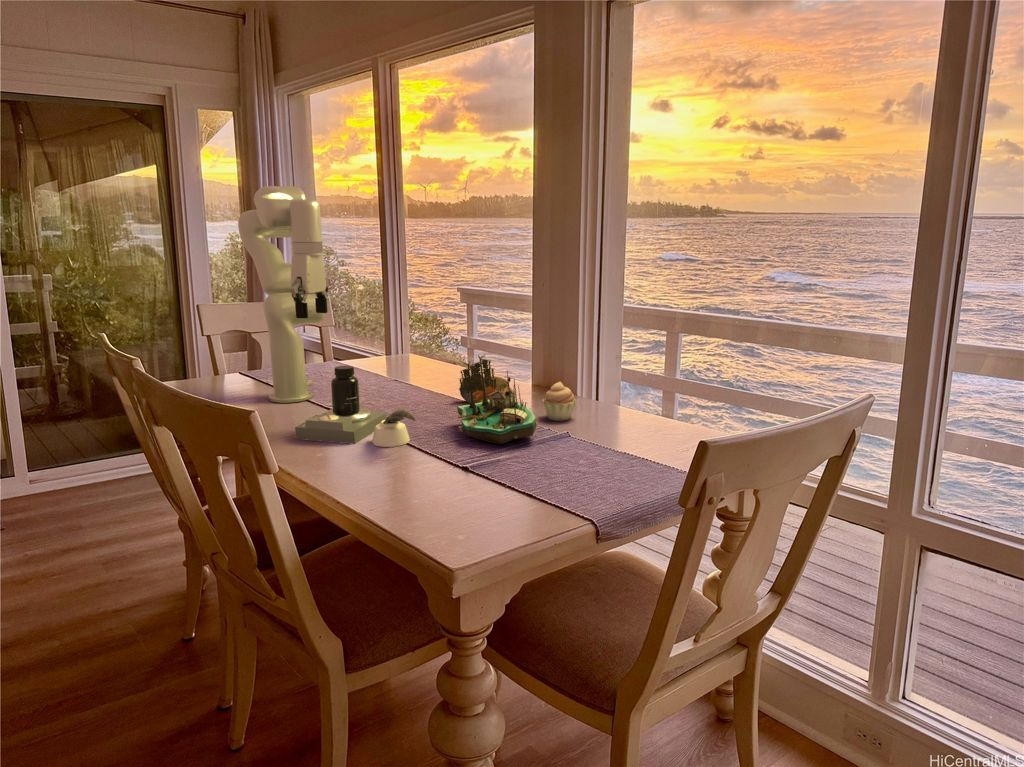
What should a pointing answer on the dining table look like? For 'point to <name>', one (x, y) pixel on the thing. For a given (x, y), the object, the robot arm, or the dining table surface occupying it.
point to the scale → (338, 428)
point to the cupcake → (559, 402)
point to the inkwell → (392, 430)
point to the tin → (479, 394)
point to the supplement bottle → (345, 392)
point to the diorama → (493, 408)
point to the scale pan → (357, 417)
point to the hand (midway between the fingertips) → (312, 315)
